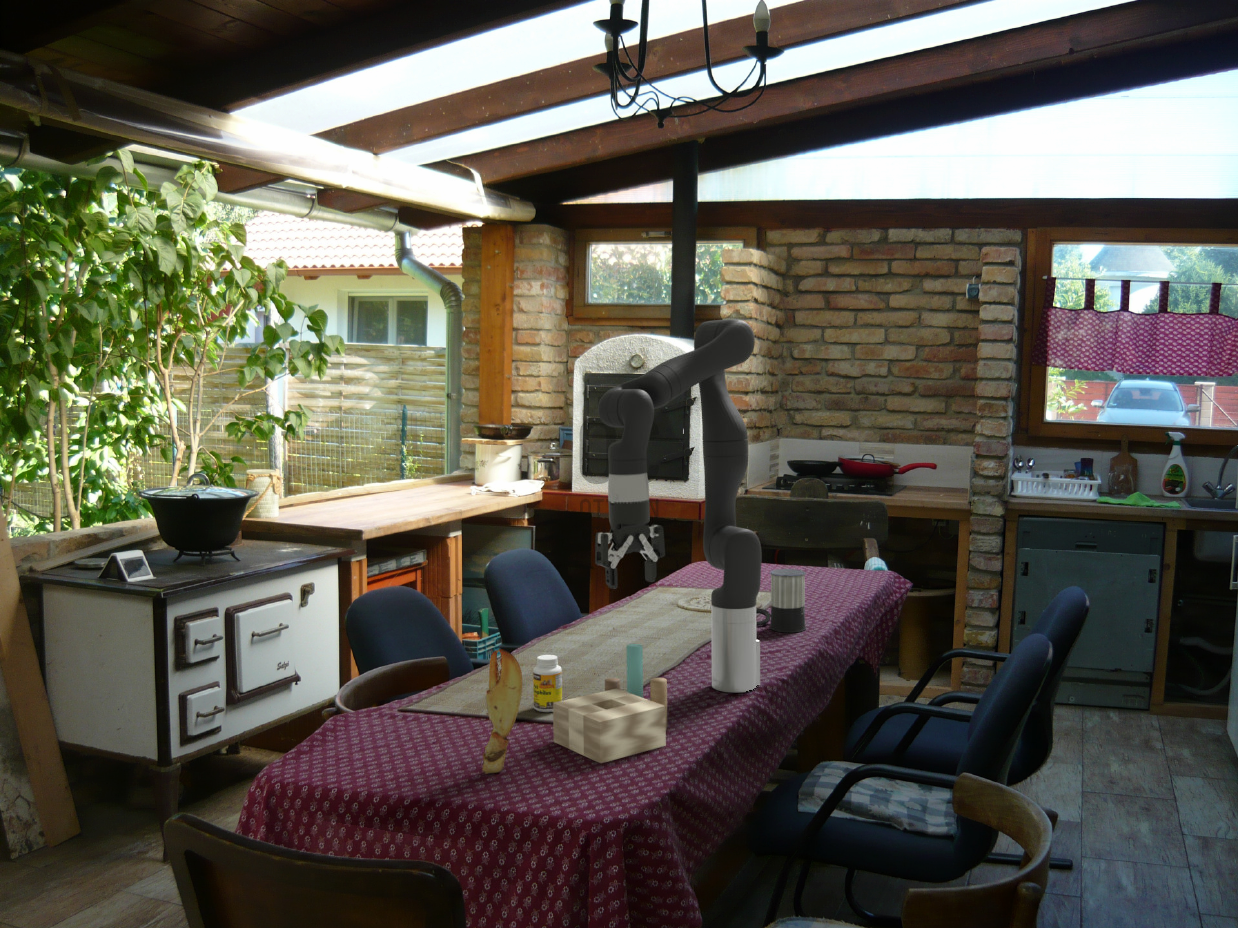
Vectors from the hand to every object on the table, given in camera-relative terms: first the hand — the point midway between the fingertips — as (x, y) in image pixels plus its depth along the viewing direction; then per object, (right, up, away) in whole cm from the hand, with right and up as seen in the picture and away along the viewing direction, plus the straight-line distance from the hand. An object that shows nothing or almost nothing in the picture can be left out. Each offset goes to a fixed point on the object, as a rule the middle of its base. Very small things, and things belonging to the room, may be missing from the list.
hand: (631, 584), depth 199 cm
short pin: (-3, -25, +8) cm, 27 cm away
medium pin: (+5, -26, -3) cm, 27 cm away
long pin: (+1, -26, +2) cm, 26 cm away
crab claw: (-22, -28, -25) cm, 43 cm away
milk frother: (+38, -20, +77) cm, 88 cm away
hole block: (-4, -27, -11) cm, 29 cm away
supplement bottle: (-16, -25, +9) cm, 31 cm away
